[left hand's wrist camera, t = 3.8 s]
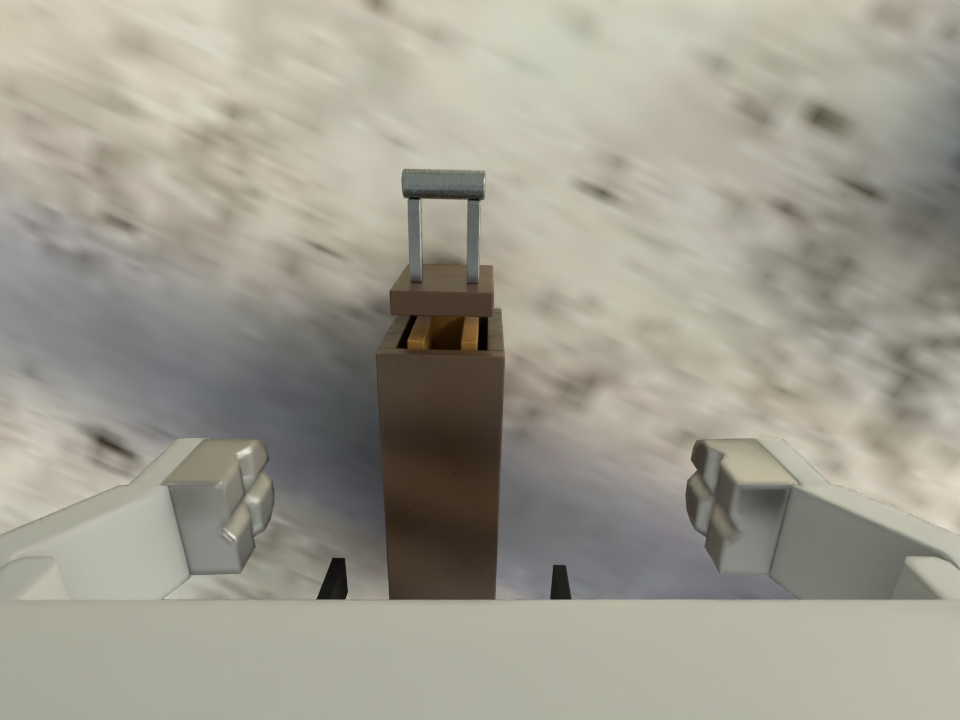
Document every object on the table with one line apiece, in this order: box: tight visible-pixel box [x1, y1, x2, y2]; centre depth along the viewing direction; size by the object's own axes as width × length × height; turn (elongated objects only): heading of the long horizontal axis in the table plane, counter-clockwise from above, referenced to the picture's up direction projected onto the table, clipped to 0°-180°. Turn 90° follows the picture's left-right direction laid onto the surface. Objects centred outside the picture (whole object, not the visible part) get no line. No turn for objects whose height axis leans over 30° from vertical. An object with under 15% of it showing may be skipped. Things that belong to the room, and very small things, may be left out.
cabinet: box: [376, 309, 505, 600], centre depth 32 cm, size 19×6×8 cm, turn 179°
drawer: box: [390, 169, 494, 351], centre depth 30 cm, size 24×5×6 cm, turn 179°
